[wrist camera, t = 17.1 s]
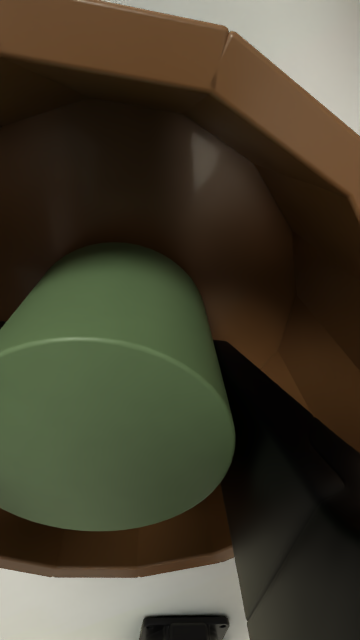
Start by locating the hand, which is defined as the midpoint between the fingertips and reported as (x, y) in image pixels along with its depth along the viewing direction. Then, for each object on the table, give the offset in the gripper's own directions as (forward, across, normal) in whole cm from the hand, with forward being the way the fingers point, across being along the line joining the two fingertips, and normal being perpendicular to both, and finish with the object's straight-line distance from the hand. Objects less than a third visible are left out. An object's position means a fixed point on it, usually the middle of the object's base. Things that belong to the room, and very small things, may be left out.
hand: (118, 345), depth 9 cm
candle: (+1, 0, 0) cm, 1 cm away
